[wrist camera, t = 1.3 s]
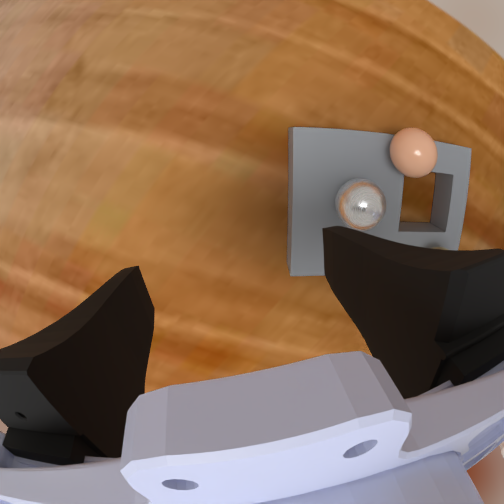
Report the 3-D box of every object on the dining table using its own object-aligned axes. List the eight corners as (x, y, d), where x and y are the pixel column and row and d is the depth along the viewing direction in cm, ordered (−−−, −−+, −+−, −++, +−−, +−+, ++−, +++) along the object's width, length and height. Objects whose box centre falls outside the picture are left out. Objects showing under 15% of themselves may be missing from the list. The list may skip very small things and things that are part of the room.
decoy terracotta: (422, 130, 17) (448, 132, 14) (420, 175, 18) (445, 184, 15) (382, 124, 17) (404, 124, 14) (380, 171, 18) (402, 179, 15)
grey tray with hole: (453, 145, 19) (471, 148, 17) (438, 257, 23) (453, 269, 21) (288, 127, 19) (293, 126, 17) (286, 261, 23) (290, 276, 21)
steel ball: (376, 176, 18) (397, 184, 15) (372, 222, 19) (391, 238, 16) (330, 173, 18) (344, 181, 15) (328, 221, 19) (341, 238, 16)
